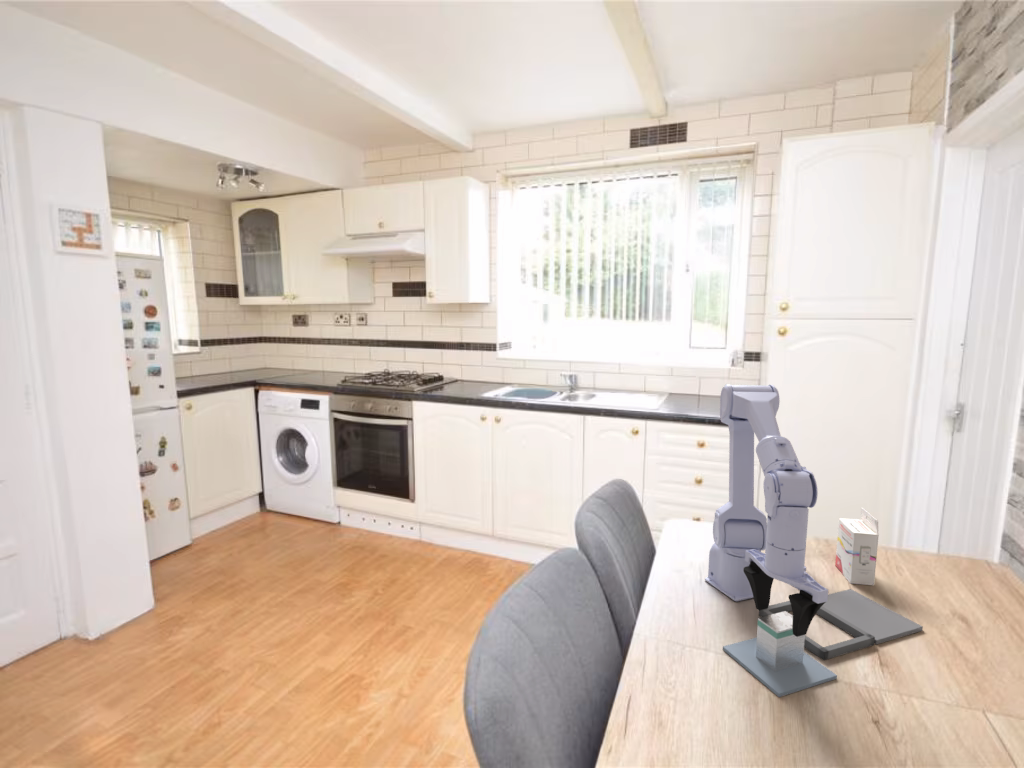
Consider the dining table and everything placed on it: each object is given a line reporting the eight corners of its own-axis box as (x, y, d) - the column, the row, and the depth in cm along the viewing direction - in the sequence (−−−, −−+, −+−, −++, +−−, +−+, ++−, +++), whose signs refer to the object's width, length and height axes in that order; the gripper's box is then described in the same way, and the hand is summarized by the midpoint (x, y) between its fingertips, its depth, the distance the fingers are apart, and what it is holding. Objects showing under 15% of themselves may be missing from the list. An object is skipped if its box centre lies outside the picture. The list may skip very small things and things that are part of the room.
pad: (722, 649, 90) (722, 646, 89) (775, 635, 93) (776, 632, 93) (778, 697, 78) (779, 693, 78) (836, 678, 82) (837, 675, 82)
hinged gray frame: (758, 615, 100) (759, 608, 100) (850, 592, 108) (850, 585, 108) (823, 660, 87) (824, 652, 86) (922, 630, 95) (923, 623, 94)
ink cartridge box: (833, 565, 120) (838, 504, 118) (857, 567, 119) (862, 506, 117) (849, 584, 111) (855, 519, 109) (875, 586, 110) (881, 520, 108)
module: (755, 656, 87) (757, 617, 86) (782, 648, 89) (785, 610, 88) (774, 671, 83) (777, 631, 82) (803, 663, 85) (805, 624, 84)
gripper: (845, 558, 78) (838, 641, 79) (769, 522, 91) (764, 594, 93) (810, 566, 75) (803, 651, 77) (737, 528, 89) (733, 601, 91)
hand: (780, 620), depth 85 cm, fingers open, 7 cm apart
